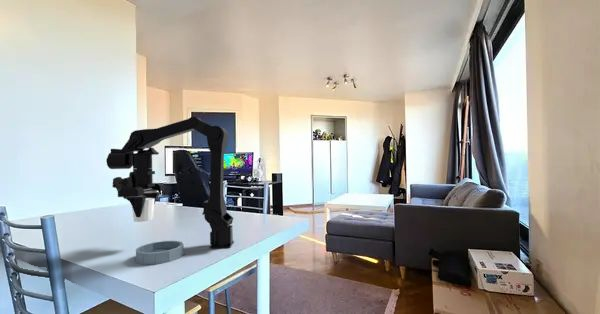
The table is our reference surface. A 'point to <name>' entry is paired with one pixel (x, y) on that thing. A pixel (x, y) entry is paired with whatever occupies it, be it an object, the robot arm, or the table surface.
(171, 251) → the bowl
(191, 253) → the table surface
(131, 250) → the table surface
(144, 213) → the shot glass
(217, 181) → the robot arm
